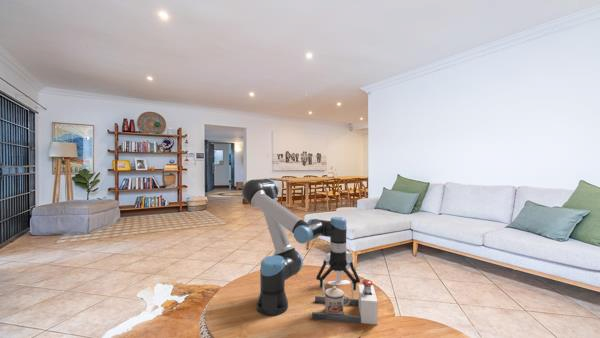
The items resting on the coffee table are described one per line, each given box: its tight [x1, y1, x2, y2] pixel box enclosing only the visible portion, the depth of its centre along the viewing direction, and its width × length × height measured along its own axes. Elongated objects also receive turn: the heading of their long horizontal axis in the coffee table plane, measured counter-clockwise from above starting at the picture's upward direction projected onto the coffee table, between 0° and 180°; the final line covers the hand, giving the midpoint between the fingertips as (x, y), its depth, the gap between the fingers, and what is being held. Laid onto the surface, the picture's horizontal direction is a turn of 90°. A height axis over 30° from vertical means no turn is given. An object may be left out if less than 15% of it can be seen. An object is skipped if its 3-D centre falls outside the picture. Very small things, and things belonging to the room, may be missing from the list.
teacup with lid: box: [324, 285, 351, 315], centre depth 127 cm, size 12×9×12 cm
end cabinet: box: [357, 283, 379, 325], centre depth 125 cm, size 7×16×10 cm, turn 172°
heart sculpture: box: [325, 251, 354, 286], centre depth 158 cm, size 16×5×18 cm, turn 101°
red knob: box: [362, 279, 373, 295], centre depth 124 cm, size 4×4×7 cm
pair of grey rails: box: [311, 295, 362, 324], centre depth 127 cm, size 22×16×2 cm
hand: (337, 295), depth 127 cm, fingers open, 13 cm apart
